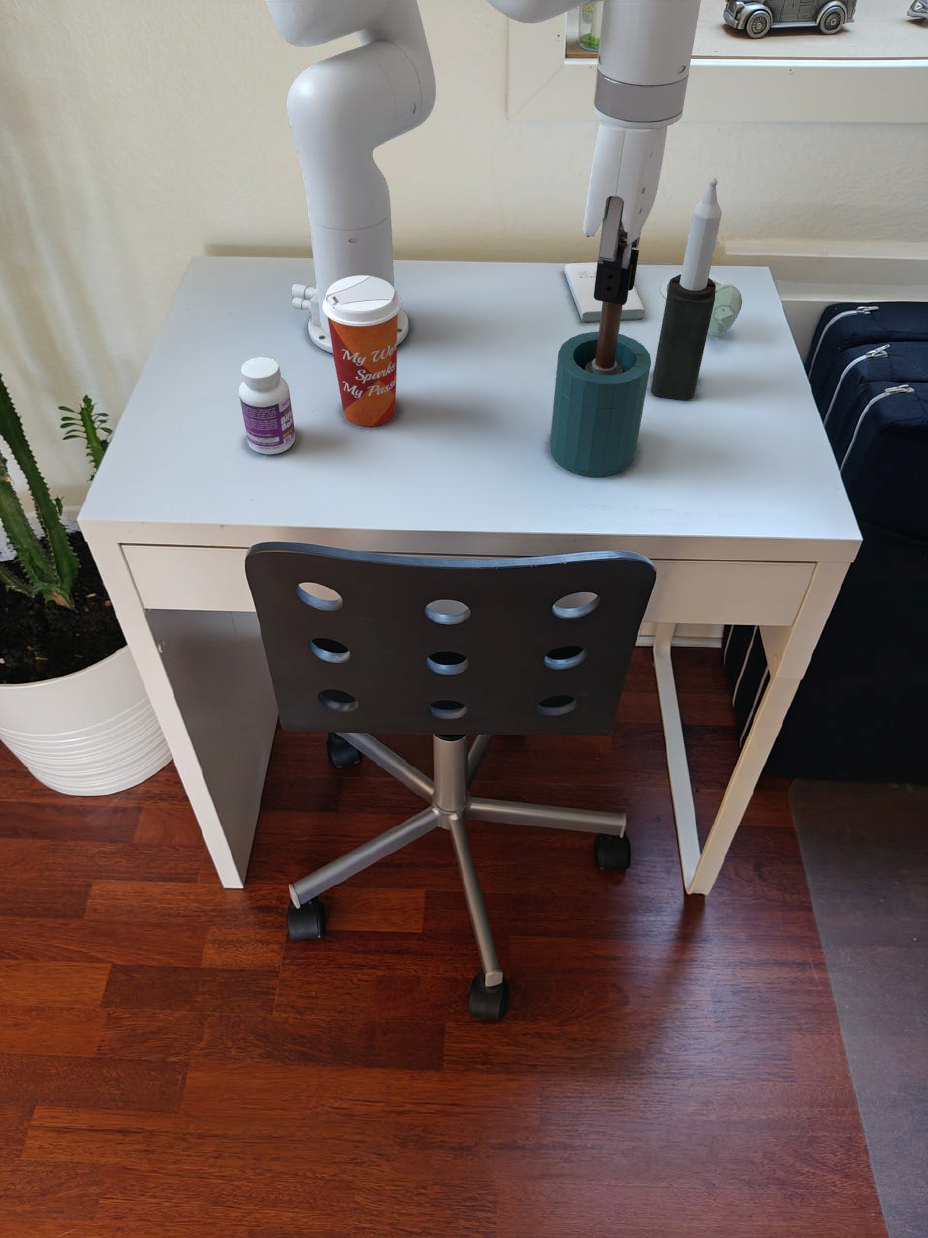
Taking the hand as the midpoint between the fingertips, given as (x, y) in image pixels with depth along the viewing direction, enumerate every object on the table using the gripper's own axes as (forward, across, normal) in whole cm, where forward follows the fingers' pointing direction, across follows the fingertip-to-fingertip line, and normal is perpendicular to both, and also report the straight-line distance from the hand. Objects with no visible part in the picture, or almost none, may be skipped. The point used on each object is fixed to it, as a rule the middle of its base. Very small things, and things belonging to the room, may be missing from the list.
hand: (613, 292), depth 97 cm
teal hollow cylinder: (+19, 0, 0) cm, 19 cm away
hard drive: (+19, -32, -7) cm, 38 cm away
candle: (+19, -15, +6) cm, 25 cm away
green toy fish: (+19, -28, +9) cm, 35 cm away
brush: (+14, 0, 0) cm, 14 cm away
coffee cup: (+19, +2, -26) cm, 33 cm away
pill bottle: (+19, +11, -34) cm, 41 cm away
